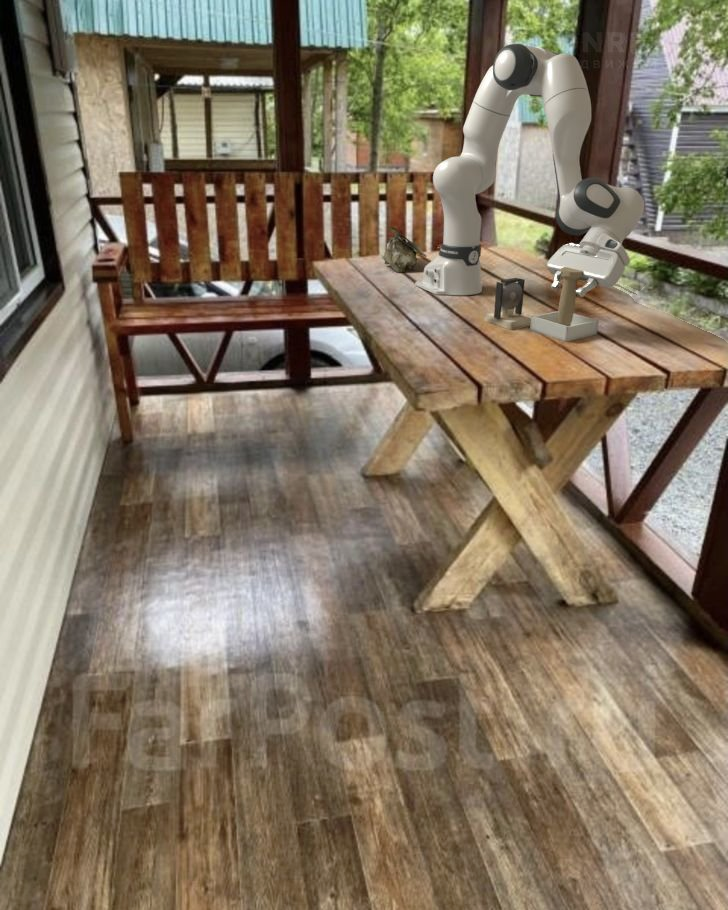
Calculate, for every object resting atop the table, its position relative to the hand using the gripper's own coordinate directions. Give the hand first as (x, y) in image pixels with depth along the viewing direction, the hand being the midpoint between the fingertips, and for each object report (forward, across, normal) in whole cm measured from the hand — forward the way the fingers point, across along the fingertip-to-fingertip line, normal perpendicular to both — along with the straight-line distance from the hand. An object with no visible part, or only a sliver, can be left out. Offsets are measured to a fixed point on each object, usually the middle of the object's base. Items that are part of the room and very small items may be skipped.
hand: (566, 292), depth 182 cm
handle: (+6, 0, +8) cm, 10 cm away
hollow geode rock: (-5, -91, +20) cm, 93 cm away
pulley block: (+11, -14, +4) cm, 18 cm away
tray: (+7, 0, +8) cm, 10 cm away
